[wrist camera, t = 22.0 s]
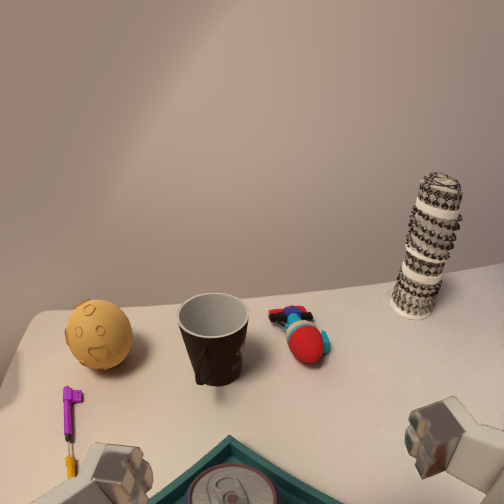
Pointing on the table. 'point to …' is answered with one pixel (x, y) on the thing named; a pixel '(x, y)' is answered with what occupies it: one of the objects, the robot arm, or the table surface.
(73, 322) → the stress ball
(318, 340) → the toy figure
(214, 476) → the soda can
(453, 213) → the decorative candle
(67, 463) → the purple orange rod tool
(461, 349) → the table surface
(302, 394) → the table surface
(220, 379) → the coffee mug
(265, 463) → the bin
